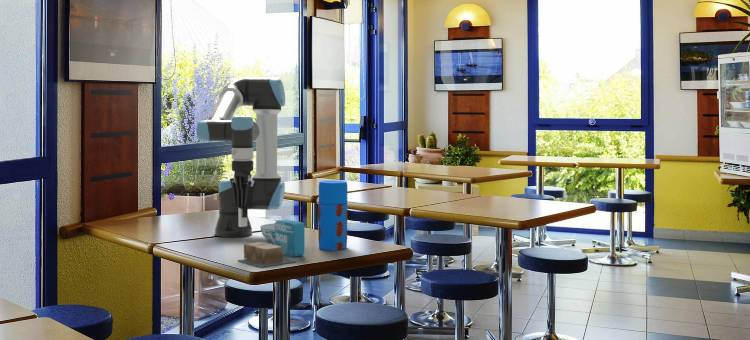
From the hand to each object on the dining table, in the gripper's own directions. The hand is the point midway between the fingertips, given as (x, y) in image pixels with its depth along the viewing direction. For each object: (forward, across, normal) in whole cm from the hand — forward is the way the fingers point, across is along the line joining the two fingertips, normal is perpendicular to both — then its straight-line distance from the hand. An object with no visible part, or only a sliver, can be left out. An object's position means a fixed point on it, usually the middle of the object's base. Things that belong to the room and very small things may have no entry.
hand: (242, 226), depth 271 cm
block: (+8, +7, 0) cm, 10 cm away
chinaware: (+11, -6, +21) cm, 24 cm away
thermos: (+11, +10, +33) cm, 36 cm away
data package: (+11, +9, +13) cm, 20 cm away
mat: (+10, +15, -1) cm, 18 cm away
